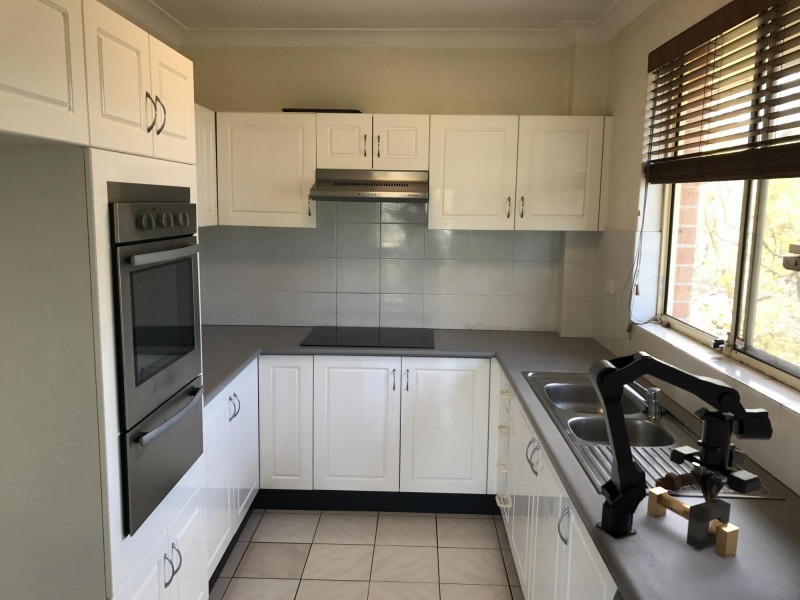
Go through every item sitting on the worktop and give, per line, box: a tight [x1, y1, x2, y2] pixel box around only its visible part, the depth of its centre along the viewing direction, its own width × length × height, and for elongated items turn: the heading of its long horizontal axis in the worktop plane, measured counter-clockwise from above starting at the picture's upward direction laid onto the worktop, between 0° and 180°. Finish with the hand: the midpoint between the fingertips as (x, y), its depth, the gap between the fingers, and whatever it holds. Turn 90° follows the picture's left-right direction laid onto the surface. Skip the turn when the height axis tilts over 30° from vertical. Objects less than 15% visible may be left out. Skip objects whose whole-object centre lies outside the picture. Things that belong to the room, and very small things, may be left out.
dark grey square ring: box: [685, 497, 731, 551], centre depth 132 cm, size 3×9×9 cm, turn 116°
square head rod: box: [646, 487, 740, 560], centre depth 136 cm, size 20×4×6 cm, turn 26°
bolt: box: [654, 472, 699, 492], centre depth 158 cm, size 6×5×15 cm
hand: (709, 504), depth 136 cm, fingers closed
